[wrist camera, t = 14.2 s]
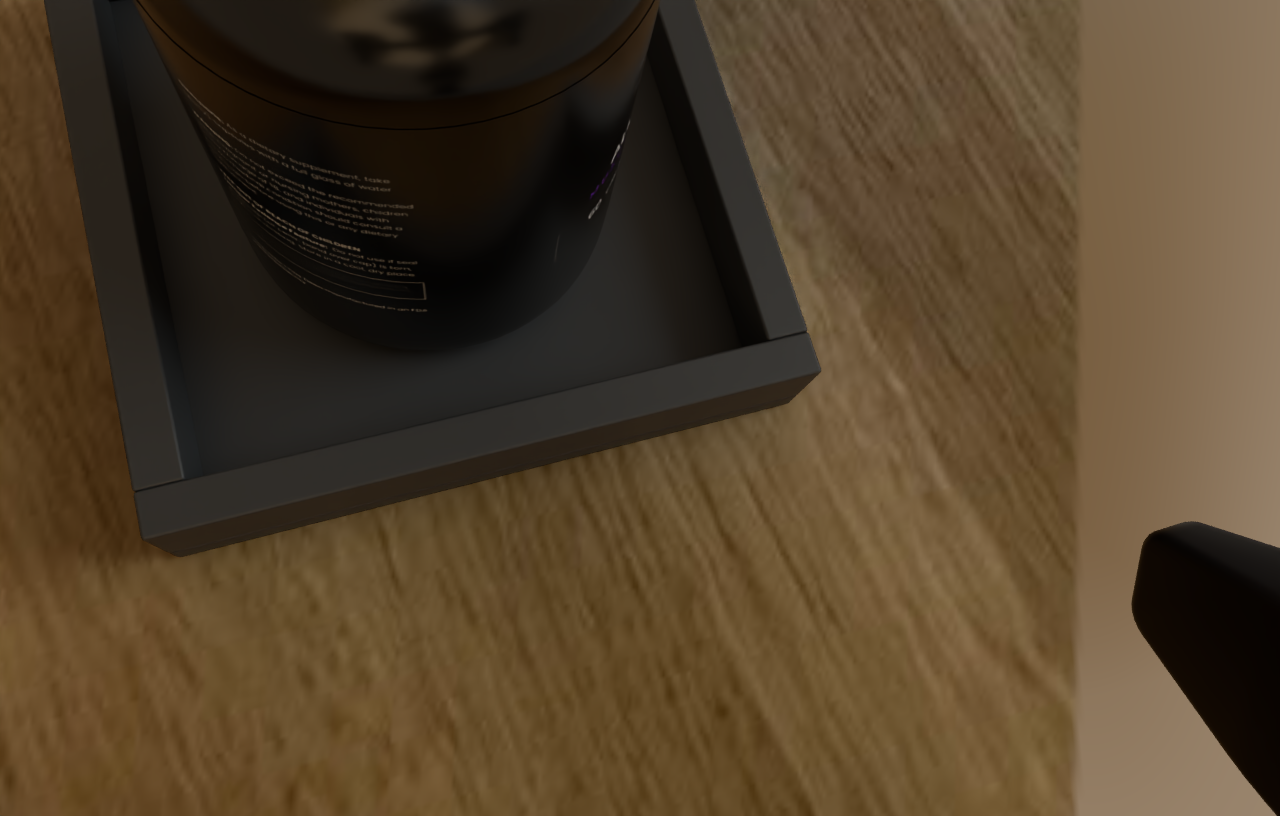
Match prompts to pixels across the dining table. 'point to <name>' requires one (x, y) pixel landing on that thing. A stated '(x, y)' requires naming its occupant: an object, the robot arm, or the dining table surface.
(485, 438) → the black tray
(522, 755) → the dining table surface
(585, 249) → the supplement bottle
